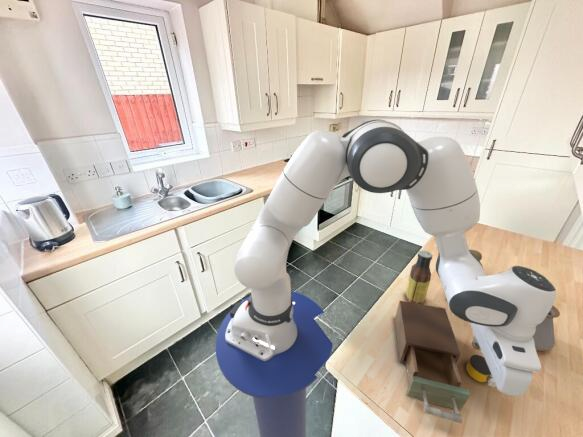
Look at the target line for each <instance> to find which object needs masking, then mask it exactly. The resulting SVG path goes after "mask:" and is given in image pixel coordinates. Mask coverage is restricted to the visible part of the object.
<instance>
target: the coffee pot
mask: <svg viewBox="0 0 583 437" xmlns="http://www.w3.org/2000/svg"><path fill="white" fill-rule="evenodd" d="M560 315H561V312H560V311H559V309H558V308H557V307H556V306H555V305H553V306H552V308H551V310H550V311H549V313H548V315H547V316H546V318H545V319H544V321H543V322H541V323H540V324H538V325H537V326H536V331H535V334H534V335H533V339H534V343H535V349H536V351H541V352H543V351H548V350H551V349H553V348H554V347H555V345H556V339H555V327H554V319H555V318H556V319H557V318H558V317H560Z"/></svg>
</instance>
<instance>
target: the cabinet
mask: <svg viewBox="0 0 583 437" xmlns="http://www.w3.org/2000/svg"><path fill="white" fill-rule="evenodd" d="M396 309H397V310H396V313H395V317H394V323H395V324H394V325H395V332H396V333H395V334H396V341H397V349H398V360H399V363H402V364H405V365H406V359H405V355H406V352H407V349H408V346H409V345H410V346H415V347H419V348H424V349H428V350H433V351H438V352H442V353H447V354H451V355H454V358H455V362H456V364H458V362H459V360H460V357H461V356H462V353H461V351H460V348H459V345H458V342H457V339H456V336H455V333H454V330H453V327H452V325H451V321H450V319H449V316H448V313H447V310H446V308H445V307H444V308H443V307H439V306H432V305H428V304H417V303H411V302H409V301H404V300H399V302H398V306H397V308H396Z"/></svg>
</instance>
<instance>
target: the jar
mask: <svg viewBox="0 0 583 437" xmlns="http://www.w3.org/2000/svg"><path fill="white" fill-rule="evenodd" d="M465 370H466V372H467V374H468V375H469V376H470V377H471V378H472V379H473V380H475V381H477V382H479V383H487V381H486V378H487V376H492V374H491V372H490V370H489V367H488V365H487V363H486V360H485V358H484V356H483V355H480V354H472V355H470V358H469V360H468V361H467V364H466V366H465Z"/></svg>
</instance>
